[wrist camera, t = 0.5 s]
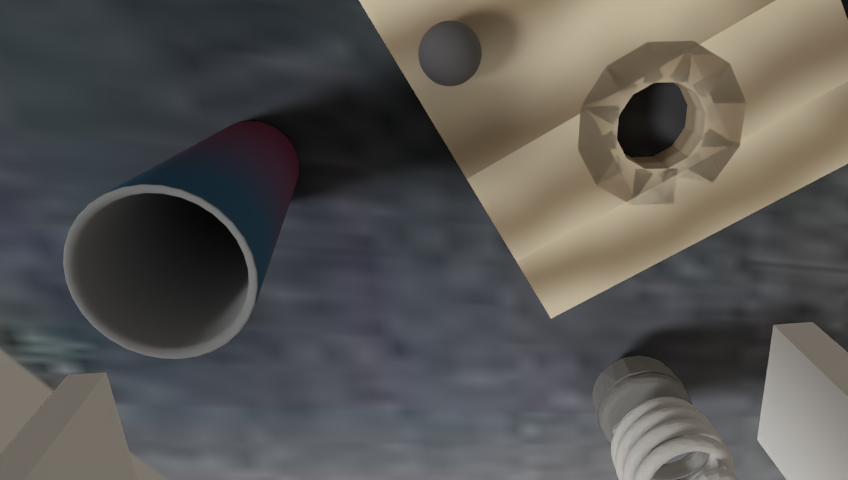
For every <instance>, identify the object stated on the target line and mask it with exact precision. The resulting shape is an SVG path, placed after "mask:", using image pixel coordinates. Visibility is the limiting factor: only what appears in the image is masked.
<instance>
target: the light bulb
mask: <svg viewBox="0 0 848 480" xmlns="http://www.w3.org/2000/svg"><path fill="white" fill-rule="evenodd" d="M592 399H593V404H594V409H595V412H596V416H597V420H598V423H599V425H600V428H601V430H602V432H603V433H604V435H605V436H606V438H607V439H608V440H609V441H610V443H611V456H612V459H613V463H614V466H615V468H616V473H617V476H618V479H619V480H652V479H655V480H664V479H672V478H677V477H681V476H683V475H686V474H689V473H690V472H692V471H694V470H695V469H697V468H699V467H700V466H701V465H702V464H703V463H704V462H705V461H706V460H707V461H706V463H705V464H704V465H703V466H702V467H701V468H700V469H699V470H698V471H696V472H695V473H693V474H692V475H690V476H688V477H685V478H682V479H678V480H737V478H736V475H734V474H733V471H734V467H733V459H732V456H731V454H730V452H729V451H728V449H727V448H726V447H725V445H724V442H723V439H722V437H721V436H720V434H719V433H718V432H717V431H716V430H715V429H714V428H713V427H712V425H711V423H710V422H709V420H708V419H707V418H706V417H705V416H704V415H703V414H701V413H700V412H698V411H696V409H695V408H694V407H693V406H692V401H691V398H690V396H689V395H688V393H687V390H686V388H685V386H684V384H683V383H682V382H681V381H680V380H679V379H678V378H677V377H676V375H675V374H674V373H673V372H672V371H671V370H670V369H669V368H668V367H667V366H665V365H664V364H663V363H662V362H661V361H659V360H656V359H653V358H650V357H647V356H632V357H625V358H622V359H620V360H618V361H615V362H613V363H611V364H610V365H609V366H608V367H607V368H605V369H604V370H603V371H602V372H601V373H600V375H599V377H598V378H597V380H596V382H595V385H594V388H593V394H592ZM684 435H687V436H684ZM687 452H691V453H690V454H689V455H687V456H686V457H684V458H683V459H681V460H678V461H676V462H673V463H668V464H664V463H666V462H667V461H668V460H670V459H671V458H674V457H676V456H678V455H680V454H684V453H687ZM647 454H648V455H647ZM646 455H647V456H646ZM707 458H708V459H707Z"/></svg>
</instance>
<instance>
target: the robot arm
mask: <svg viewBox="0 0 848 480" xmlns="http://www.w3.org/2000/svg"><path fill="white" fill-rule="evenodd" d="M757 440H758V442H759V443H760V444H761V446H762V447H763V448H764V450H765V451H766V452H767V454H768V455H769V456H770V458H771V459H772V460H773V462H774V463H775V464H776V466H777V467H778V469H779V470H780V471H781V473H782V474H783V475H784V477H785V478H786V479H787V480H848V352H847V351H845V350H844V349H843V348H842V347H841V346H840V345H839V344H837V343H836V342H835V341H834V340H833V339H832V338H830V337H829V336H828V335H827V334H826V333H825V332H824V331H822V330H821V329H820V328H819V327H818V326H817V325H816V324H814V323H813V322H807V323H793V324H778V325H773V331H772V338H771V345H770V353H769V360H768V367H767V374H766V381H765V388H764V395H763V402H762V409H761V416H760V423H759V430H758V438H757ZM0 480H137V477H136V474H135V471H134V467H133V463H132V460H131V456H130V453H129V450H128V446H127V443H126V439H125V436H124V432H123V429H122V425H121V422H120V419H119V415H118V412H117V408H116V405H115V401H114V398H113V394H112V391H111V388H110V384H109V381H108V377H107V374H106V372H105V373H91V374H77V375H67V376H66V378H65V379H64V380H63V381H62V382H61V383H60V385H59V386H58V387H57V388H56V389H55V390H54V392H53V393H52V394H51V395H50V396H49V398H48V399H47V400H46V401H45V402H44V403H43V405H42V406H41V407H40V408H39V409H38V411H37V412H36V413H35V414H34V415H33V416H32V417H31V419H30V420H29V421H28V422H27V423H26V425H25V426H24V427H23V428H22V429H21V430H20V432H19V433H18V434H17V435H16V436H15V438H14V439H13V440H12V441H11V442H10V443H9V445H8V446H7V447H6V448H5V449H4V450H3V452H2V453H1V454H0Z"/></svg>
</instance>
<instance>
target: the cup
mask: <svg viewBox="0 0 848 480" xmlns="http://www.w3.org/2000/svg"><path fill="white" fill-rule="evenodd" d="M298 175H299V161H298V157H297V153H296V151H295V149H294V147H293V145H292V144H291V142H290V141H289V139H288V138H287V137H286V136H285V135H284V134H283V133H282V132H280V131H279V130H277V129H276V128H275V127H273V126H270V125H268V124H266V123H262V122H257V121H245V122H239V123H236V124H233V125H231V126H229V127H227V128H225V129H223V130H221V131H220V132H218V133H216V134H214V135H212V136H210V137H208V138H207V139H205V140H203V141H201V142H199V143H197V144H195V145H194V146H192V147H190V148H188V149H186V150H184V151H182V152H181V153H179V154H177V155H175V156H173V157H171V158H169V159H168V160H166V161H164V162H162V163H160V164H158V165H156V166H155V167H153V168H151V169H149V170H147V171H145V172H143V173H142V174H140V175H138V176H136V177H134V178H132V179H130V180H129V181H127V182H125V183H123V184H121V185H119V186H117V187H116V188H114V189H112V190H110V191H108V192H106V193H105V194H103V195H101V196H100V197H98V198H97V199H95V200H94V201H92V202H91V203H89V204H88V205H87V206H86V207H85V209H84V210H83V211H82V212H81V213H80V214H79V215H78V216H77V218H76V219H75V221H74V223H73V225H72V226H71V228H70V230H69V232H68V236H67V239H66V243H65V246H64V260H63V266H64V272H65V278H66V282H67V285H68V288H69V290H70V293H71V295H72V298H73V300H74V301H75V303H76V304H77V306H78V308H79V309H80V311H81V312H82V314H83V315H84V316H85V317H86V318H87V319H88V321H89V322H90V323H91V324H92V325H93V326H94V327H95V328H96V329H97V330H99V331H100V332H101V333H102V334H104V335H105V336H106V337H107V338H109V339H110V340H112V341H114V342H116V343H117V344H119V345H121V346H123V347H124V348H126V349H129V350H132V351H135V352H137V353H140V354H143V355H147V356H152V357H157V358H169V359H182V358H189V357H196V356H199V355H202V354H205V353H208V352H211V351H214V350H216V349H217V348H219V347H221V346H223V345H224V344H226V343H228V342H229V341H230V340H231V339H232V338H233V337H235V336H236V335H237V334H238V333H239V332H240V331H241V330H242V328H243V327H244V325H245V324H246V323H247V321H248V320H249V318H250V316H251V313H252V311H253V309H254V306H255V304H256V301H257V298H258V295H259V292H260V289H261V286H262V283H263V280H264V277H265V274H266V271H267V268H268V266H269V263H270V260H271V257H272V254H273V251H274V248H275V245H276V242H277V239H278V236H279V233H280V230H281V227H282V224H283V221H284V218H285V215H286V212H287V209H288V206H289V203H290V201H291V198H292V195H293V192H294V189H295V186H296V183H297V180H298Z"/></svg>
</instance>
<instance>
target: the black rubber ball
mask: <svg viewBox="0 0 848 480" xmlns="http://www.w3.org/2000/svg"><path fill="white" fill-rule="evenodd" d="M418 57H419V63H420V66H421V68H422V70H423V72H424V73H425V74H426V76H427V77H428V78H429V79H431V80H432V81H433V82H435V83H437V84H439V85H443V86H456V85H460V84H463V83H464V82H466V81H468V80H469V79H470V78H471V77H472V76H473V75H474V74H475V73H476V71H477V70H478V68H479V65H480V62H481V57H482V49H481V44H480V41H479V39H478V37H477V35H476V34H475V32H474V31H473V30H472V29H471V28H470V27H469V26H467V25H465V24H463V23H461V22H458V21H443V22H440V23H437V24H435V25H434V26H432V27H431V28H430V29H429V30H428V31H427V32H426V33H425V34H424V36H423V37H422V40H421V42H420V45H419V50H418Z"/></svg>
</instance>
